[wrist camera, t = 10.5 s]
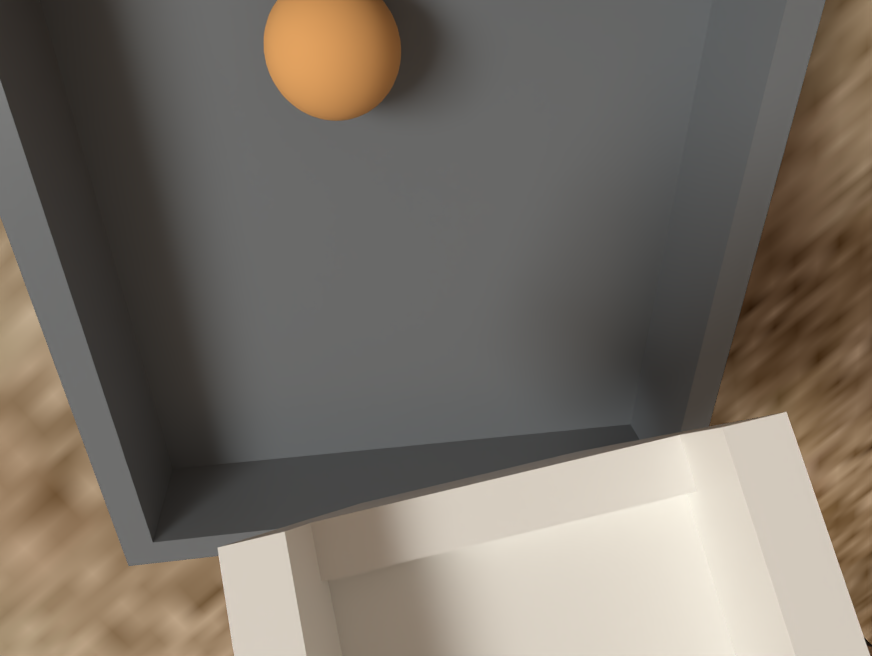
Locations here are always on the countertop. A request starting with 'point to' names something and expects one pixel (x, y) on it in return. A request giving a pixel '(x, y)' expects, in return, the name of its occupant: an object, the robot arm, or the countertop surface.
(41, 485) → the countertop surface
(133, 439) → the tray
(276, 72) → the ball
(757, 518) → the open white crate
